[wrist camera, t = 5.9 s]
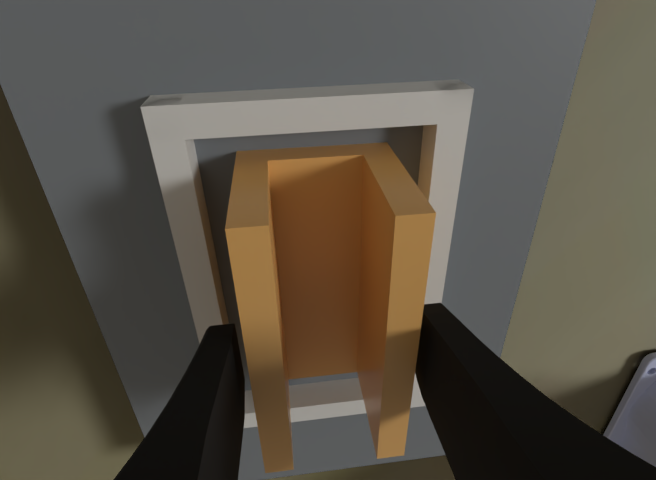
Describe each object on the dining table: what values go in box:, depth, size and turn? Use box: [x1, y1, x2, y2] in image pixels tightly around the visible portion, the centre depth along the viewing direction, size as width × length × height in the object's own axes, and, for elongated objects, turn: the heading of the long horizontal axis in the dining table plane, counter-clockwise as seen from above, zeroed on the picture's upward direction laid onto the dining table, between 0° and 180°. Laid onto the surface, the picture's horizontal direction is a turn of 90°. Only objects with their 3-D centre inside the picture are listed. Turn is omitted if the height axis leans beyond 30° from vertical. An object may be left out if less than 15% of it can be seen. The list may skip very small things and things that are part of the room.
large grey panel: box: [0, 0, 596, 480], centre depth 15 cm, size 20×14×4 cm
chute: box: [225, 142, 436, 473], centre depth 12 cm, size 8×4×4 cm, turn 1°
